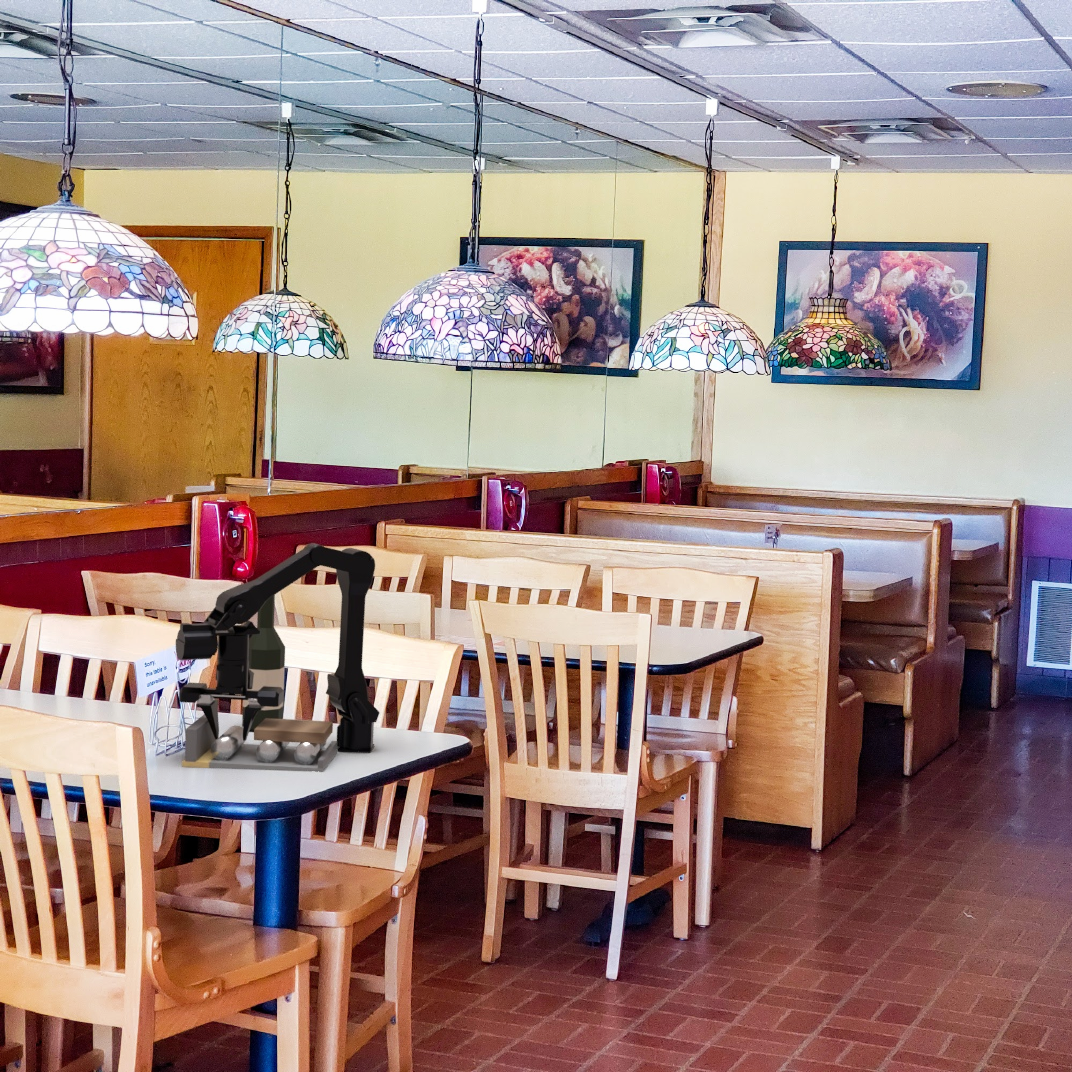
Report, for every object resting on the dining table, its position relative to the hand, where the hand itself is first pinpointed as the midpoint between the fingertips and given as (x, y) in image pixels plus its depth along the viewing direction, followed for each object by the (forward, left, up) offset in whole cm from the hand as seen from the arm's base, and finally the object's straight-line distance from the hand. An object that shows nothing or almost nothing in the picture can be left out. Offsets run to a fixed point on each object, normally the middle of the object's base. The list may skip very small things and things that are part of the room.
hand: (230, 739), depth 278 cm
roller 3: (-15, 0, -3) cm, 15 cm away
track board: (-6, 0, -4) cm, 7 cm away
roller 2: (-8, 0, -3) cm, 8 cm away
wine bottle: (0, -29, -4) cm, 29 cm away
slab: (-12, 0, +1) cm, 12 cm away
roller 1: (0, 0, -3) cm, 3 cm away
